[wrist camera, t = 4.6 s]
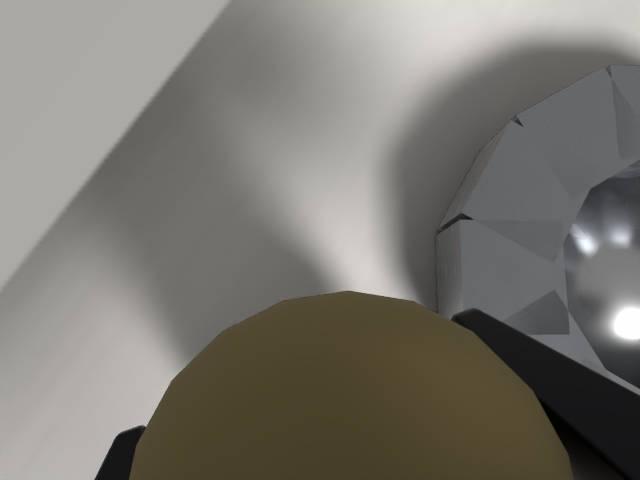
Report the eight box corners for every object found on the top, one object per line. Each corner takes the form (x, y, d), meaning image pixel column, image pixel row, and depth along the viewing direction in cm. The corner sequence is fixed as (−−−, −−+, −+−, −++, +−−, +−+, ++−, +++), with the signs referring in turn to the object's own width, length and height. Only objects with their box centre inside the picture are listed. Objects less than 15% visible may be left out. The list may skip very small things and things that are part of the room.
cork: (452, 482, 15) (817, 812, 5) (246, 557, 15) (115, 1134, 4) (382, 278, 16) (550, 160, 6) (185, 341, 16) (-50, 346, 5)
